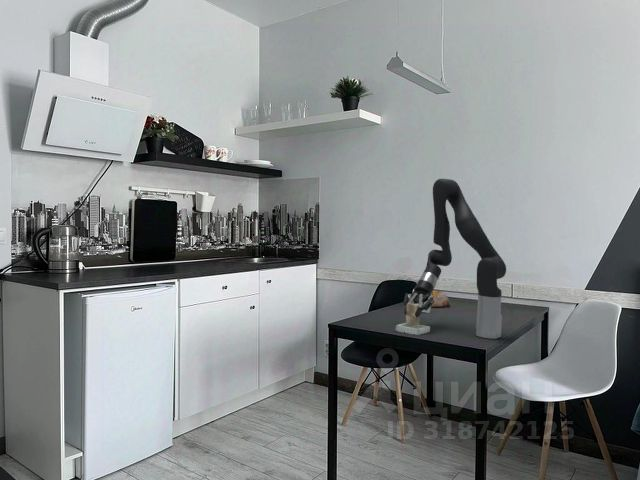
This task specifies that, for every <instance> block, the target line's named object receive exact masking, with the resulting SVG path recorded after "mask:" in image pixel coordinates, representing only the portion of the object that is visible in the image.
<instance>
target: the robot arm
mask: <svg viewBox="0 0 640 480" xmlns="http://www.w3.org/2000/svg"><path fill="white" fill-rule="evenodd" d="M432 199H433V213H434V216H433V217H434V226H433V227H434V228H433V240H432V241H433V243H434V244H435V245H436V246H440V248H441V250H440V249H432V250H430V251H429V252H428V255H427V261H426V266H425V268H424V270H423V272H422V274H421V276H420V277H419V279H418V281H417V283H416V285H415V287H414V288H413V289H414V292H413V291H412V292H413V293H407V292H406V293H405V295H404V299H403V305H404V307H405V308H404V310H403V313H404V315H405V316H406V314H407V304H409V303H414V304H419V308H418V309H417V311H416V312H415V316H416V317H418V316H421V314H422V313H423V312H422V311H423V310H428V309H429V307H430V306H431V305H432V304H433V303H434V299H433V297H430V296H431V294H432V292H433V290H434V289H435V288H436V286H437V282H438V281H439V278H440V276H441V273H442V268H441V267H448V266H450V265H451V263H452V260H453V257H452V255H453V254H452V250H451V245H450V244H451V243H450V232H451V226H450V225H451V224H450V219H449V217H448V213H447V207H446V205H447V202H448V203H449V205H450V206H451V208H452V209H453V210H452V211H453V213H454V223H455V226H456V227H455V228H456V229H457V231H458V232H459V234H460V236H461V238H462V239H463V240H464V242H466V243H467V244H468V245H469V246H470V247H471V248H472V249H473V250H474V251H475V252H476V253H477V254H478V256H479V257H480V259H481V260H479V261H478V264H477V267H476V288H477V292H478V293H477V294H478V295H477V307H476V308H477V309H476V310H477V313H476V330H475V332H476V333H475V335H476V336H477V337H479V338H484V339H494V340H497V339H499V338H501V337H502V327H503V326H502V323H503V314H501V310H502V309H501V308H502V307H501V306H502V289H500V288H499V287H498V280H499V279H502V278H505V275H506V273H507V265H506V263H505V262H504V259H503V258H502V257H501V256H500V254H499V253H498V251H497V250H496V249H495V247H494V246H493V245H492V243H491V241H490V239H489V238H488V236H487V234H486V233H485V231H484V230H483V227H482V226H481V224H480V222H479V220H478V219H477V217H476V215H475V214H474V213H473V210H472V209H471V208H470V206H469V204H468V203H467V200H466V198H465V196H464V194H463V191H462V189H461V187H460V185H459V184H458V183H457V182H456V181H455V180H454V179H448V178H438V179H437V180H435V181H434V182H433V186H432ZM440 266H441V267H440ZM426 301H427V302H426ZM425 302H426V303H425Z"/></svg>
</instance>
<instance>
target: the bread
mask: <svg viewBox="0 0 640 480" xmlns="http://www.w3.org/2000/svg"><path fill="white" fill-rule="evenodd" d="M431 297H433V299H434V303H433V304H432V305H431V308H441V309H442V308H443V309H444V308H445V307H446V308H448V307H449V306H450V299H449V297H448V296H447V295H446V294H445V293H444V292H442V291H441V290H439V289H436V290H433V292H432V294H431Z"/></svg>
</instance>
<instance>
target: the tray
mask: <svg viewBox="0 0 640 480" xmlns="http://www.w3.org/2000/svg"><path fill="white" fill-rule="evenodd" d="M395 332H399V333H404V332H405V333H406V334H409V335H414V334H415V335H414V336H421V334H422V335H425V334H428V333H430V332H431V326H430V325H424V324H419V326H410V325H406V322H403V323H400V324H395ZM405 333H404V334H405Z"/></svg>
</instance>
